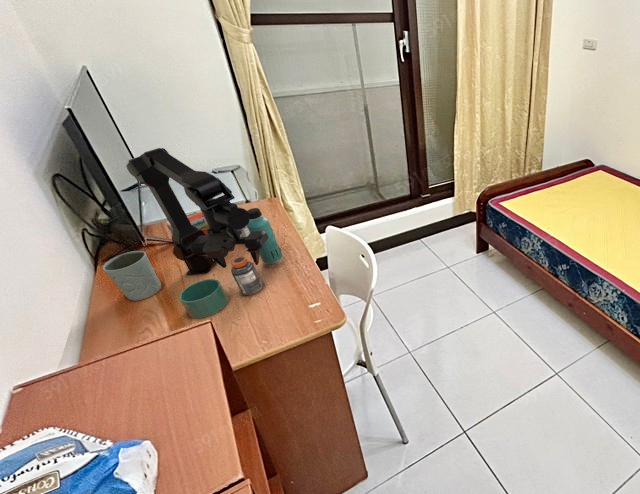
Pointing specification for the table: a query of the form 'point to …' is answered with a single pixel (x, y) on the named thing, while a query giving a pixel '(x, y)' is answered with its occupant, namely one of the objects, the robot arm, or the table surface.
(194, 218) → the medicine box
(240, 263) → the pill bottle
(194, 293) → the green bowl
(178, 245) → the robot arm
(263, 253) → the beverage bottle
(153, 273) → the grey green planter pot
